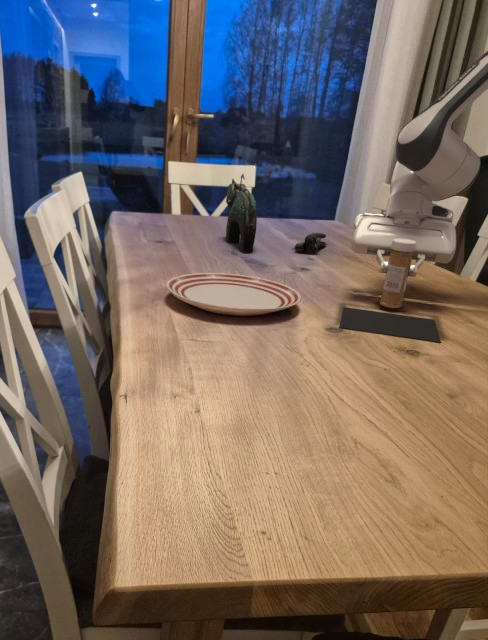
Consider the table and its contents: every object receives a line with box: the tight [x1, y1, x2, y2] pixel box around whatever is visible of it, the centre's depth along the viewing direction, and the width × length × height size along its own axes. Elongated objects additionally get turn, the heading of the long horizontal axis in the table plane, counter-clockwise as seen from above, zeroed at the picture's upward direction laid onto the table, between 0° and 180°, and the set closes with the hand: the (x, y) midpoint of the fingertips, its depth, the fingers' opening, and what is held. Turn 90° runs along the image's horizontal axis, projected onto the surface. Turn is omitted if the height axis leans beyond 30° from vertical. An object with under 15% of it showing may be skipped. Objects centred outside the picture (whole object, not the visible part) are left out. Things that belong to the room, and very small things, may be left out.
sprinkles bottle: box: [379, 238, 416, 309], centre depth 117 cm, size 5×5×13 cm
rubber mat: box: [338, 306, 442, 344], centre depth 111 cm, size 18×14×1 cm
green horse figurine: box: [225, 173, 258, 254], centre depth 166 cm, size 20×6×20 cm, turn 11°
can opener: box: [294, 231, 327, 254], centre depth 171 cm, size 18×7×6 cm, turn 148°
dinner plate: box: [165, 272, 302, 317], centre depth 117 cm, size 28×27×3 cm
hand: (397, 273), depth 116 cm, fingers closed on sprinkles bottle, 4 cm apart
